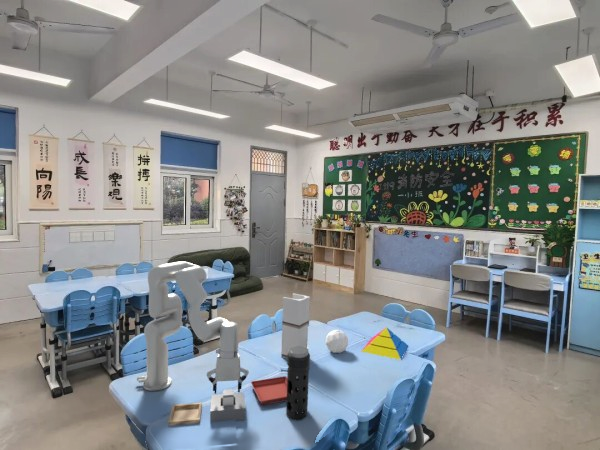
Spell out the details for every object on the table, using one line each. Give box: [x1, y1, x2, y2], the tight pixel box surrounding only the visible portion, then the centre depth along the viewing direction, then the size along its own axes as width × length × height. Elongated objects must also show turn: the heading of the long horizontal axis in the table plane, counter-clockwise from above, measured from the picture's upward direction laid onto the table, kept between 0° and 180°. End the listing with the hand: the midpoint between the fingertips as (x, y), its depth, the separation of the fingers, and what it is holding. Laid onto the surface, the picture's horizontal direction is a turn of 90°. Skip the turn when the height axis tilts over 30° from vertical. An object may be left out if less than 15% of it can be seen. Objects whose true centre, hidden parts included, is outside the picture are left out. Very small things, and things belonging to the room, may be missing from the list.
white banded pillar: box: [280, 292, 311, 360], centre depth 206 cm, size 11×11×35 cm
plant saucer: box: [250, 375, 292, 406], centre depth 168 cm, size 18×18×3 cm
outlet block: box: [209, 392, 246, 423], centre depth 151 cm, size 14×12×5 cm
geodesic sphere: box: [325, 329, 349, 354], centre depth 215 cm, size 14×14×14 cm
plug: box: [222, 388, 235, 406], centre depth 151 cm, size 4×4×8 cm
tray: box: [167, 401, 203, 427], centre depth 148 cm, size 12×12×2 cm
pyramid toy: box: [361, 327, 409, 360], centre depth 222 cm, size 25×25×14 cm
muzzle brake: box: [285, 346, 311, 421], centre depth 152 cm, size 10×28×10 cm
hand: (227, 391), depth 151 cm, fingers open, 9 cm apart
